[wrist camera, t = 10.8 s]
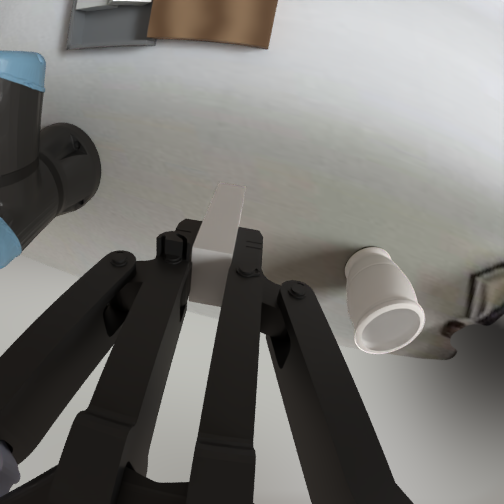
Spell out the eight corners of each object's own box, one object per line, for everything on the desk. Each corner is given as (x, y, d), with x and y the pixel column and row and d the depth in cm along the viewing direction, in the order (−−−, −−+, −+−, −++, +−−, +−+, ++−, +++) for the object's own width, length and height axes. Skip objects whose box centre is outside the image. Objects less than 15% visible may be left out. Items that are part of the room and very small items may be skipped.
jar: (354, 298, 55) (370, 363, 43) (327, 261, 51) (342, 328, 39) (404, 271, 51) (433, 332, 39) (382, 229, 47) (414, 290, 35)
